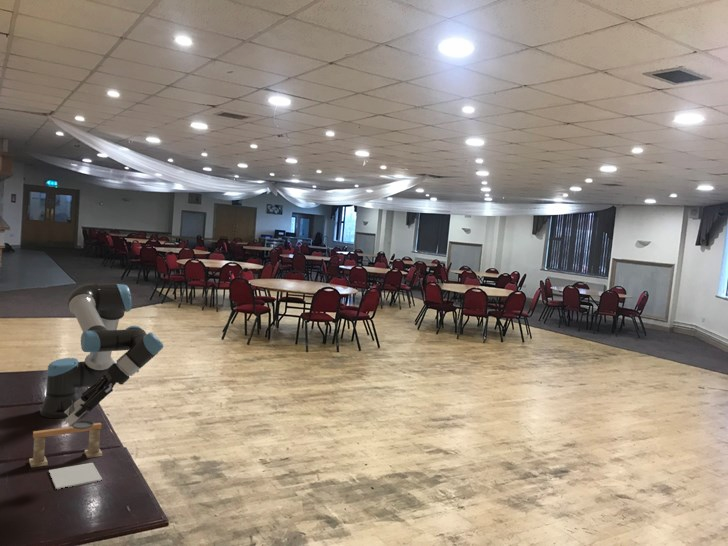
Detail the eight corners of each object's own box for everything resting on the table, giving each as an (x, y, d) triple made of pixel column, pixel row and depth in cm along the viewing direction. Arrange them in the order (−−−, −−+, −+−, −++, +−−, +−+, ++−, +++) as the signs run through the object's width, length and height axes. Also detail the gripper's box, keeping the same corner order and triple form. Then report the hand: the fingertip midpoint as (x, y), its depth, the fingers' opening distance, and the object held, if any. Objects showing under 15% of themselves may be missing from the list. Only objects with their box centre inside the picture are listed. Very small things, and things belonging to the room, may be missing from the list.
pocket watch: (97, 425, 190) (99, 397, 189) (77, 433, 182) (79, 404, 181) (80, 420, 193) (81, 393, 192) (59, 428, 185) (60, 399, 184)
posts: (31, 467, 191) (32, 440, 190) (29, 462, 195) (30, 434, 194) (102, 455, 206) (103, 430, 205) (98, 450, 210) (100, 425, 209)
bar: (33, 438, 192) (33, 433, 192) (32, 436, 193) (33, 431, 193) (101, 428, 206) (101, 424, 206) (100, 427, 207) (100, 422, 207)
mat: (48, 471, 190) (48, 470, 190) (92, 464, 199) (92, 462, 199) (56, 489, 179) (56, 488, 179) (102, 480, 188) (102, 479, 188)
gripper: (134, 385, 185) (76, 436, 178) (127, 368, 202) (75, 415, 195) (117, 370, 182) (59, 422, 175) (112, 355, 199) (58, 401, 192)
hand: (67, 418), depth 185 cm, fingers closed on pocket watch, 7 cm apart
